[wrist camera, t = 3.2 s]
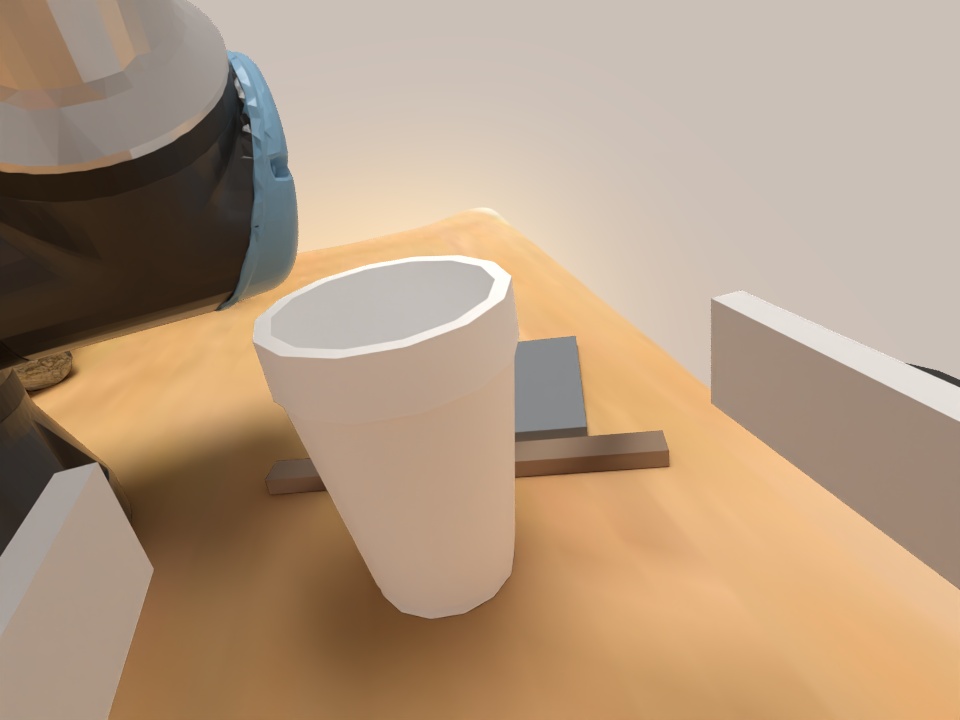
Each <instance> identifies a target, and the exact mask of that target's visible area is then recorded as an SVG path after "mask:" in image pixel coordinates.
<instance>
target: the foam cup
mask: <svg viewBox="0 0 960 720" xmlns="http://www.w3.org/2000/svg"><path fill="white" fill-rule="evenodd" d="M518 339H519V327H518V320H517V313H516V306H515V299H514V292H513V284H512V277H511V276H510V275H509V274H508V273H507V272H505V271H504V270H503V269H502V268H501V267H499V266H498V265H497V264H496V263H495V262H492V261H486V260H481V259H476V258H470V257H465V256H459V255H458V256H425V257H411V258H405V259H399V260H394V261H388V262H382V263H376V264H370V265H365V266H362V267H359V268H356V269H352V270H349V271H346V272H342V273H339V274H336V275H333V276H329V277H326V278H323V279H320V280H318V281H315V282H313V283H311V284H309V285H307V286H305V287H303V288H301V289H299V290H297V291H295V292H293V293H290V294H288V295H286V296H284V297H282V298H280V299H279V300H278V301H277V302H275V303H274V304H273V305H272V306H271V307H270V308H269V309H267V310H266V311H265V312H264V313H263V314H262V315H260V316H259V317H258V318H257V319H256V320H255V324H254V333H253V344H254V347H255V349H256V352H257V355H258V358H259V361H260V363H261V366H262V369H263V372H264V375H265V378H266V380H267V383H268V386H269V389H270V392H271V395H272V397H273V400H274V401H275V402H276V403H278V404H279V405H281V406H282V407H284V409H285V411H286V413H287V415H288V416H289V418H290V420H291V422H292V424H293V426H294V428H295V430H296V432H297V434H298V435H299V437H300V439H301V441H302V443H303V445H304V447H305V449H306V451H307V453H308V455H309V456H310V458H311V460H312V462H313V464H314V466H315V468H316V470H317V472H318V474H319V475H320V477H321V479H322V481H323V483H324V485H325V487H326V489H327V491H328V493H329V495H330V496H331V498H332V500H333V502H334V504H335V506H336V508H337V510H338V512H339V514H340V516H341V517H342V519H343V521H344V523H345V525H346V527H347V529H348V531H349V533H350V535H351V536H352V538H353V540H354V542H355V544H356V546H357V548H358V550H359V552H360V554H361V556H362V557H363V559H364V561H365V563H366V565H367V567H368V569H369V571H370V573H371V575H372V576H373V578H374V580H375V582H376V584H377V586H378V587H379V588H380V589H381V591H382V594H383V596H384V597H385V598H386V599H387V600H389V601H390V602H391V603H392V604H393V605H394V606H395V607H396V608H397V609H398V610H399V611H401V612H403V613H407V614H411V615H416V616H420V617H424V618H428V619H434V618H440V617H446V616H452V615H458V614H464V613H466V612H468V611H470V610H472V609H473V608H475V607H477V606H479V605H480V604H482V603H484V602H485V601H487V600H489V599H491V598H492V597H494V596H495V594H496V593H497V592H498V591H499V589H500V588H501V587H502V585H503V584H504V583H505V581H506V580H507V579H508V577H509V576H510V575H511V573H512V566H513V559H514V552H515V549H514V543H515V380H514V356H515V352H516V347H517V343H518Z"/></svg>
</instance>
